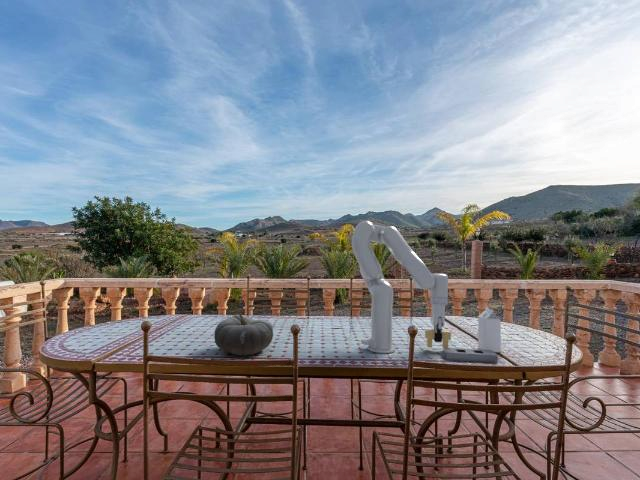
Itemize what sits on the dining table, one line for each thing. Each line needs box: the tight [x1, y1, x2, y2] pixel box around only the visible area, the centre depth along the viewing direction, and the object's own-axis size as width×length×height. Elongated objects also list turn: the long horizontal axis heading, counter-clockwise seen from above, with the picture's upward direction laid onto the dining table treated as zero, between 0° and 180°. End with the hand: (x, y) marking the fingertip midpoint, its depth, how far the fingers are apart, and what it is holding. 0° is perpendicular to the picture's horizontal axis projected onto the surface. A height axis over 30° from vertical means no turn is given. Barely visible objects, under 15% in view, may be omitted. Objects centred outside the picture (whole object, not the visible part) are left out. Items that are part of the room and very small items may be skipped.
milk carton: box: [477, 307, 502, 353], centre depth 169 cm, size 7×7×19 cm
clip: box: [424, 328, 452, 349], centre depth 168 cm, size 11×3×8 cm, turn 81°
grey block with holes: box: [443, 347, 499, 364], centre depth 156 cm, size 20×8×3 cm, turn 81°
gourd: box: [213, 312, 274, 357], centre depth 163 cm, size 25×25×17 cm
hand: (437, 340), depth 168 cm, fingers closed on clip, 3 cm apart
